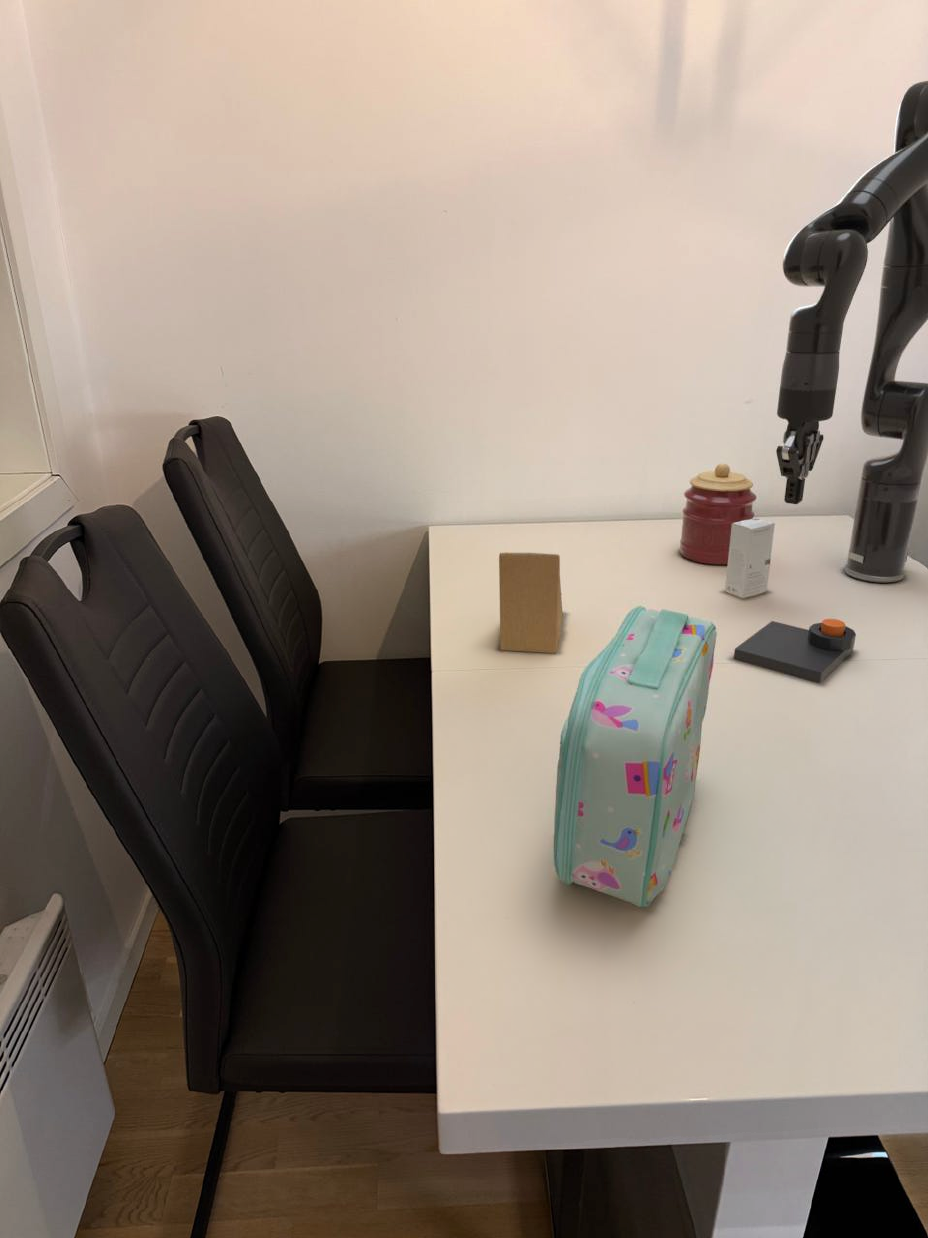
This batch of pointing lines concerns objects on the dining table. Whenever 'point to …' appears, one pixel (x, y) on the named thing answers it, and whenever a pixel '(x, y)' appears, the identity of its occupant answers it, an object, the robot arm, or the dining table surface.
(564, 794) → the lunch box
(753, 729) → the dining table surface
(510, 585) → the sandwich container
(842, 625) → the tare button
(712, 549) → the kitchen canister
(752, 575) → the cosmetic box
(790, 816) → the dining table surface
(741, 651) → the button base plate
